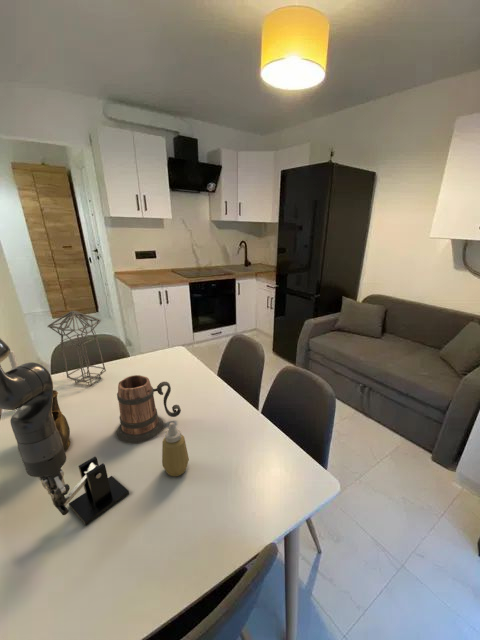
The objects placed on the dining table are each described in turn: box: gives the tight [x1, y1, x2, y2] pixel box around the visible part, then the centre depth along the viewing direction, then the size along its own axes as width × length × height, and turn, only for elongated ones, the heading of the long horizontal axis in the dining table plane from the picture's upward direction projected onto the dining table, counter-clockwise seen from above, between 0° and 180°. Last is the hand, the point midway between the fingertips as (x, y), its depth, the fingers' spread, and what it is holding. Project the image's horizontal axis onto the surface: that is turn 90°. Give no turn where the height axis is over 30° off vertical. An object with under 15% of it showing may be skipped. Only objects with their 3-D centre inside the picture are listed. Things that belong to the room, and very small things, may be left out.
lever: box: [56, 462, 98, 516], centre depth 74 cm, size 12×5×2 cm, turn 144°
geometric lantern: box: [47, 310, 107, 387], centre depth 132 cm, size 16×16×35 cm
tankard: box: [115, 374, 182, 444], centre depth 107 cm, size 24×17×20 cm
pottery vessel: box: [52, 389, 71, 452], centre depth 94 cm, size 25×11×20 cm, turn 37°
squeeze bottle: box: [161, 421, 190, 477], centre depth 88 cm, size 8×8×18 cm
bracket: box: [68, 456, 130, 526], centre depth 78 cm, size 12×9×13 cm
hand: (60, 504), depth 71 cm, fingers closed
